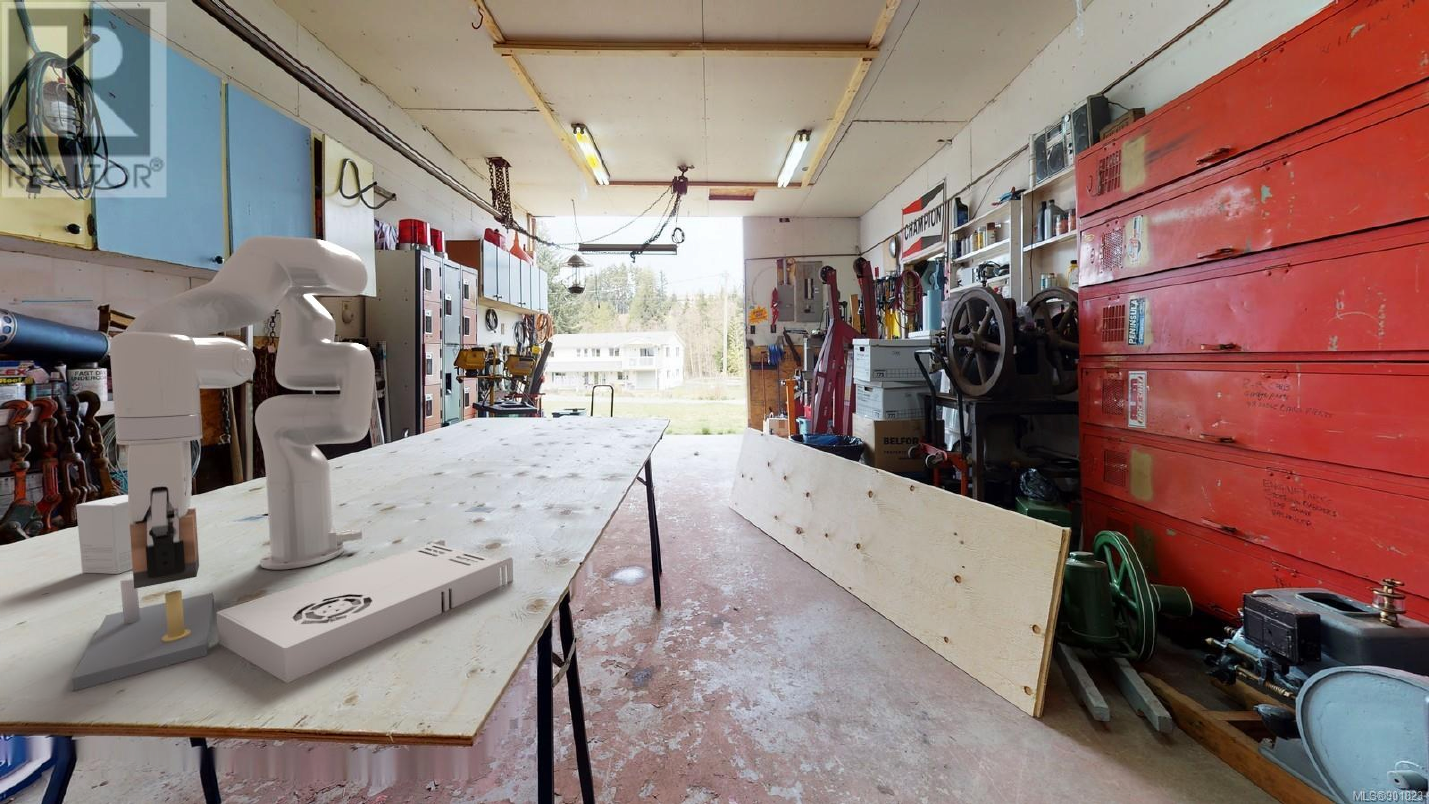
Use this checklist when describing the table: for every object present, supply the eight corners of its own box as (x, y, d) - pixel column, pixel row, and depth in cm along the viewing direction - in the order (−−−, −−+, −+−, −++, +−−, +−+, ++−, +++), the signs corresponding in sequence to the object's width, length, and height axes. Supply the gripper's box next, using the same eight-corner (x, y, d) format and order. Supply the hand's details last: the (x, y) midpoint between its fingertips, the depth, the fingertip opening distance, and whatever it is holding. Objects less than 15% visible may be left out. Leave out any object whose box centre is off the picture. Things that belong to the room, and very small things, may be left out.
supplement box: (164, 559, 98) (159, 494, 98) (116, 575, 91) (110, 505, 90) (130, 557, 99) (125, 493, 98) (79, 573, 92) (73, 504, 91)
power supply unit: (513, 584, 90) (512, 556, 89) (287, 689, 61) (285, 648, 60) (444, 564, 98) (443, 538, 98) (218, 647, 69) (215, 612, 69)
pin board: (214, 601, 81) (210, 555, 80) (207, 654, 66) (203, 598, 66) (107, 625, 74) (102, 574, 73) (72, 691, 59) (66, 628, 58)
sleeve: (199, 565, 71) (195, 508, 70) (196, 577, 67) (192, 516, 66) (140, 575, 67) (136, 515, 67) (134, 588, 63) (129, 524, 63)
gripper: (127, 426, 70) (136, 557, 71) (101, 438, 57) (113, 598, 58) (205, 422, 75) (212, 545, 76) (197, 433, 62) (206, 579, 63)
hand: (169, 566), depth 67 cm, fingers closed on sleeve, 5 cm apart
